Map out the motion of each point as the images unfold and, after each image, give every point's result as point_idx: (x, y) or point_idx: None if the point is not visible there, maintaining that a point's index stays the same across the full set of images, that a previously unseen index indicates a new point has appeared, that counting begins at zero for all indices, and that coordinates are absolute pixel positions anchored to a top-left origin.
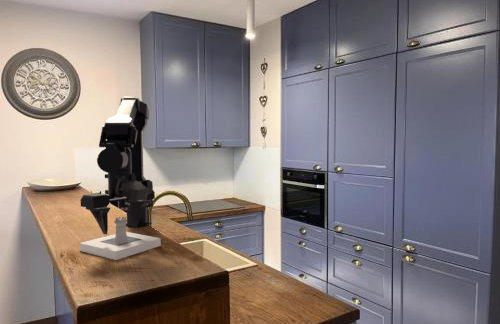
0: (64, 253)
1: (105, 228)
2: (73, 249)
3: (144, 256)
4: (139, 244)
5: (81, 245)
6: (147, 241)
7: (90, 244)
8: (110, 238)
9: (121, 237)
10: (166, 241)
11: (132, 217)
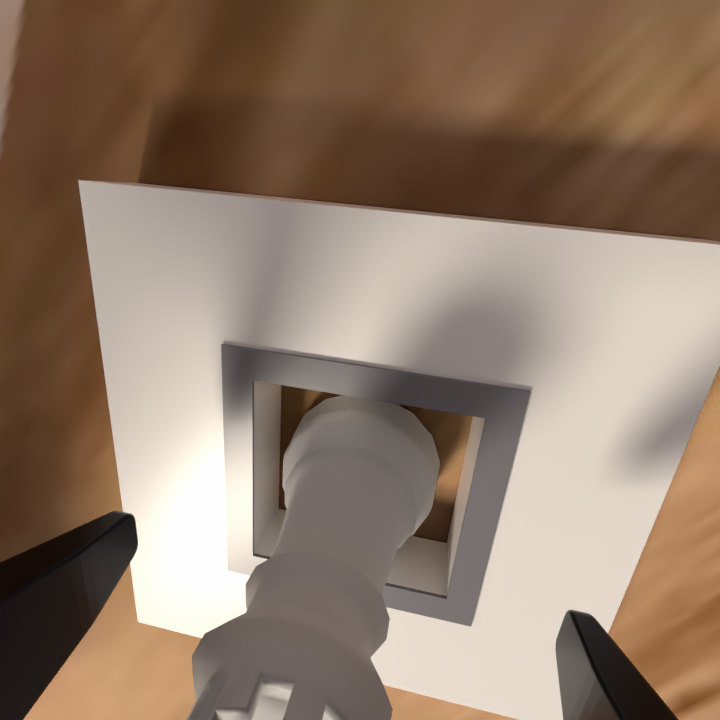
0: None
1: (650, 694)
2: None
3: (482, 47)
4: (383, 214)
5: None
6: (244, 223)
7: None
8: None
9: (381, 490)
10: (21, 239)
11: (42, 671)
